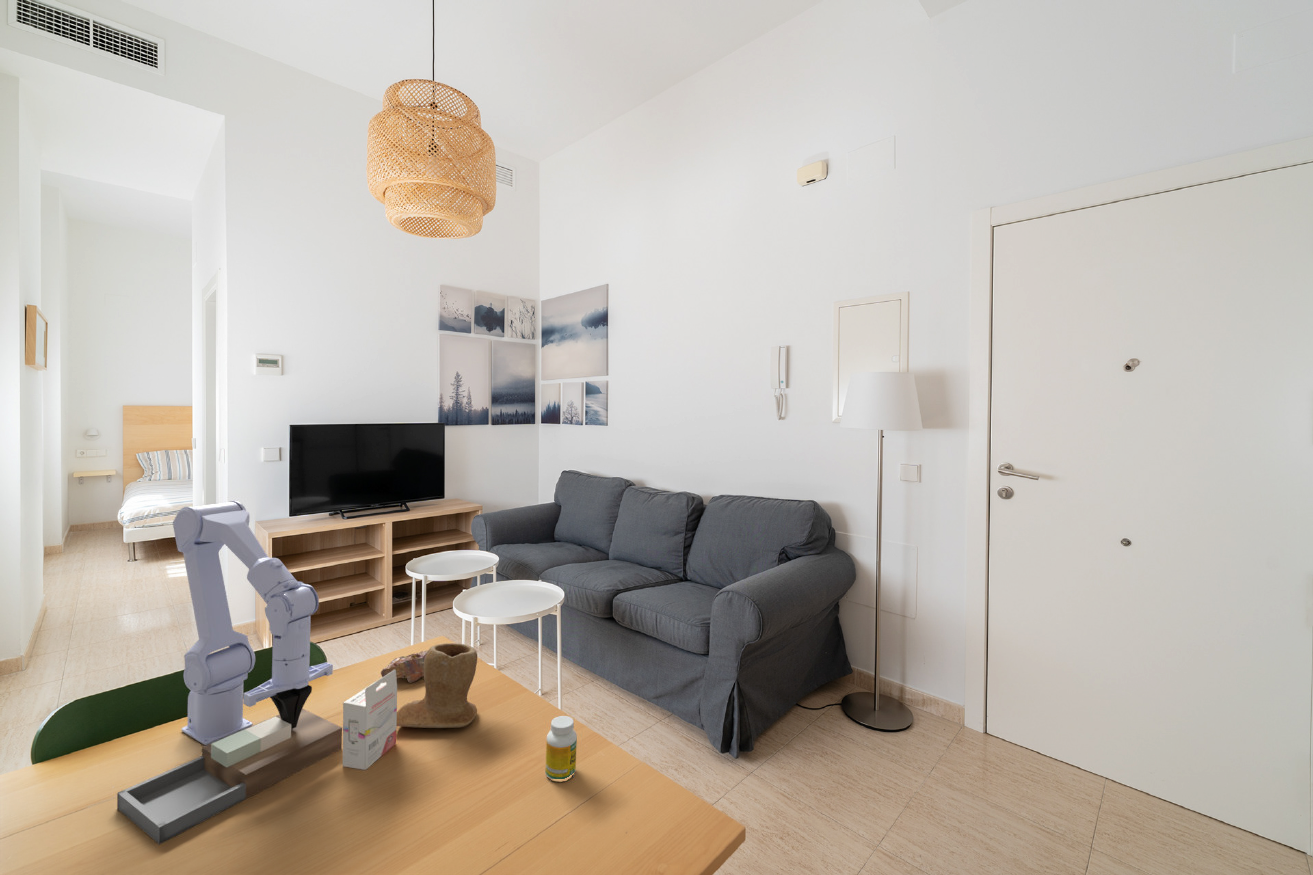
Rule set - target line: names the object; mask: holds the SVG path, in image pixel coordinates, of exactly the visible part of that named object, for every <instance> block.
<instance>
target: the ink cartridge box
mask: <svg viewBox="0 0 1313 875" xmlns="http://www.w3.org/2000/svg"><path fill="white" fill-rule="evenodd" d="M342 705H343V706H342V710H343V711H342V767H346V768H350V769H351V768H352V769H356V770H363V771H365V770H367V769H369V768H370V767H371V765H373V764H374V763H375V762H377V760H379V759H381V757H382V756H384V755H385V753H387V752H388V751H389V750H390V749H391V748H393V747H394V746H395V745H396V744H397V726H396V723H397V711H398V710H397V709H398V683H397V677H396V670H393V671H392V672H390V673H389V674H387V675H385V676H384V677H382V676H381V677H380V678H379V679H377V680H376V681H374V682H372V683H371V684H370V685H368V686H366V687H365V688H363V689H362V690H360V691H359V692H358V693H356V694H354V695H353V696H351V697H350V698H348V699H346V700H345V701H344V702H342Z"/></svg>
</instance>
